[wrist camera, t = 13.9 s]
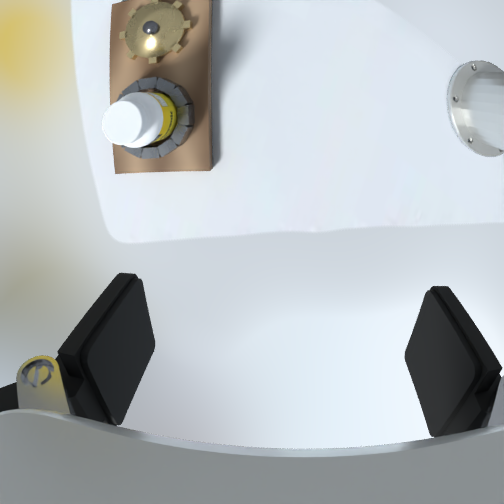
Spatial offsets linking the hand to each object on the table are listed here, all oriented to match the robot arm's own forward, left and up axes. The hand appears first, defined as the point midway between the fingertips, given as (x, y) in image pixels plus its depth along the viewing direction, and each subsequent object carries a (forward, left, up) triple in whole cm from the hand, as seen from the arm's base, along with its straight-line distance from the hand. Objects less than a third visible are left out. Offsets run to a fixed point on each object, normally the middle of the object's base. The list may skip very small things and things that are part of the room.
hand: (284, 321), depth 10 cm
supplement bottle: (+14, -6, -27) cm, 31 cm away
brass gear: (+14, -16, -27) cm, 34 cm away
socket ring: (+14, -5, -27) cm, 31 cm away
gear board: (+14, -10, -28) cm, 33 cm away
